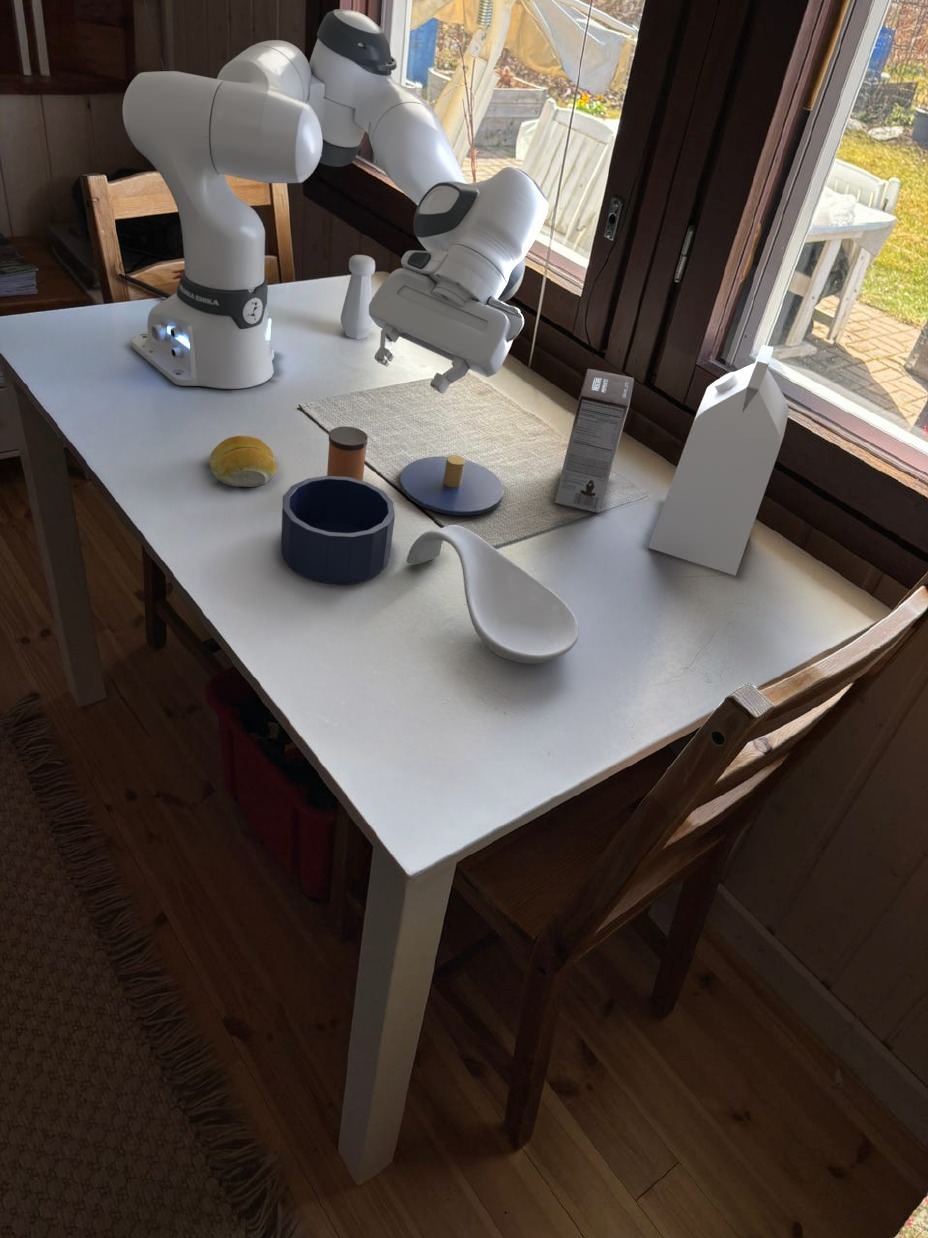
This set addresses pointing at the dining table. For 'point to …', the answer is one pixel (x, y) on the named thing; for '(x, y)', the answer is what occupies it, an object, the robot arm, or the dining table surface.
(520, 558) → the dining table surface
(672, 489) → the milk
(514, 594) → the spoon rest
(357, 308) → the salt shaker
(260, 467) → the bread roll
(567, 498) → the coffee box
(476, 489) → the tin lid
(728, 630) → the dining table surface
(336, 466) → the cylinder
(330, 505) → the tin
